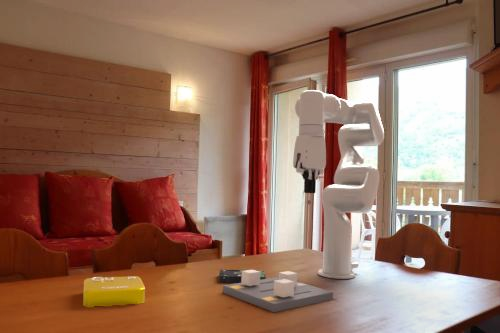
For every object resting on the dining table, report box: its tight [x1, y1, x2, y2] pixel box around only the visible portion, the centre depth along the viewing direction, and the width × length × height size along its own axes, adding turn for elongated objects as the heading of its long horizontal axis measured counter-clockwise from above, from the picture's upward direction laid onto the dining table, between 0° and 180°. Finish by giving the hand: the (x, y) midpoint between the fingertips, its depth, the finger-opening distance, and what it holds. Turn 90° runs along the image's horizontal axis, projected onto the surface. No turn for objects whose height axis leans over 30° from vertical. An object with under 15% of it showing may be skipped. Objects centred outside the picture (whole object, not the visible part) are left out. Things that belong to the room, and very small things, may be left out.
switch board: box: [222, 276, 334, 313], centre depth 125 cm, size 22×22×2 cm
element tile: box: [82, 275, 146, 308], centre depth 118 cm, size 15×15×5 cm
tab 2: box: [278, 270, 298, 286], centre depth 127 cm, size 4×4×4 cm
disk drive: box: [218, 269, 267, 284], centre depth 143 cm, size 10×3×15 cm
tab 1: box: [241, 269, 260, 286], centre depth 128 cm, size 4×4×4 cm
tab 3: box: [274, 279, 294, 297], centre depth 117 cm, size 4×4×4 cm
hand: (309, 192), depth 133 cm, fingers closed
